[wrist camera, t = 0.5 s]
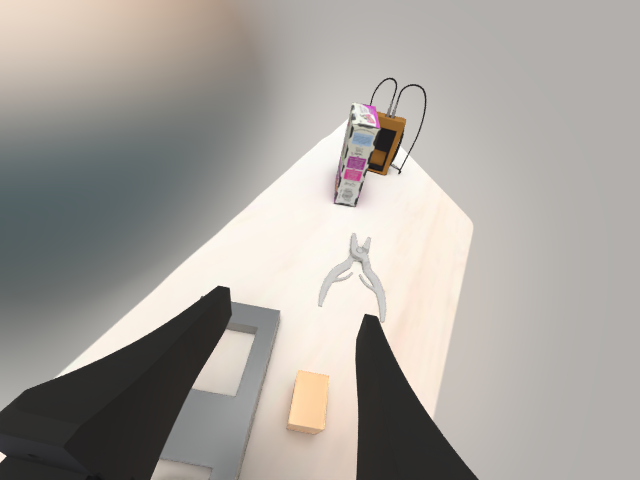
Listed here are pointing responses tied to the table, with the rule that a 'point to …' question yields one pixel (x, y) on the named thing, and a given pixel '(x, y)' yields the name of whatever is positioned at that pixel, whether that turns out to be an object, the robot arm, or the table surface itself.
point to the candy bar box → (356, 153)
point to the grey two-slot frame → (225, 404)
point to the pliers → (359, 255)
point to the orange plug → (309, 403)
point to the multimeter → (389, 137)
